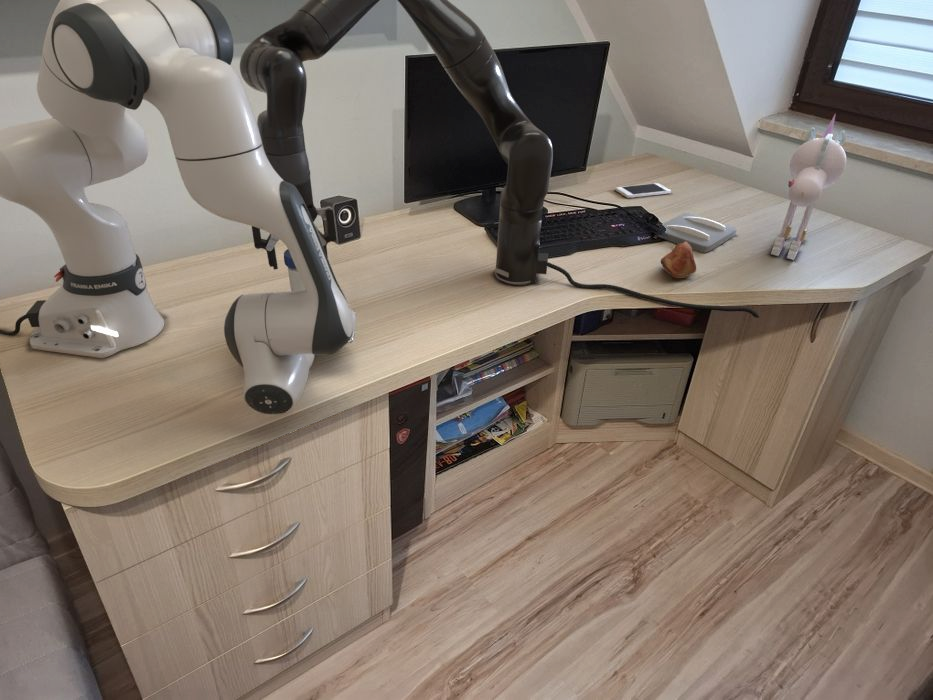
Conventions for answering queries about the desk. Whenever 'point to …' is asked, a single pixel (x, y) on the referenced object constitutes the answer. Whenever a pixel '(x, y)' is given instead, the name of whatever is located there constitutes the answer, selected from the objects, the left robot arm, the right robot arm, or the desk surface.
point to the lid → (289, 260)
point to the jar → (295, 280)
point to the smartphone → (642, 190)
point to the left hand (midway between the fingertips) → (306, 303)
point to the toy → (811, 180)
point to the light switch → (697, 232)
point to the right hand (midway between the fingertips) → (298, 265)
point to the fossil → (680, 261)
